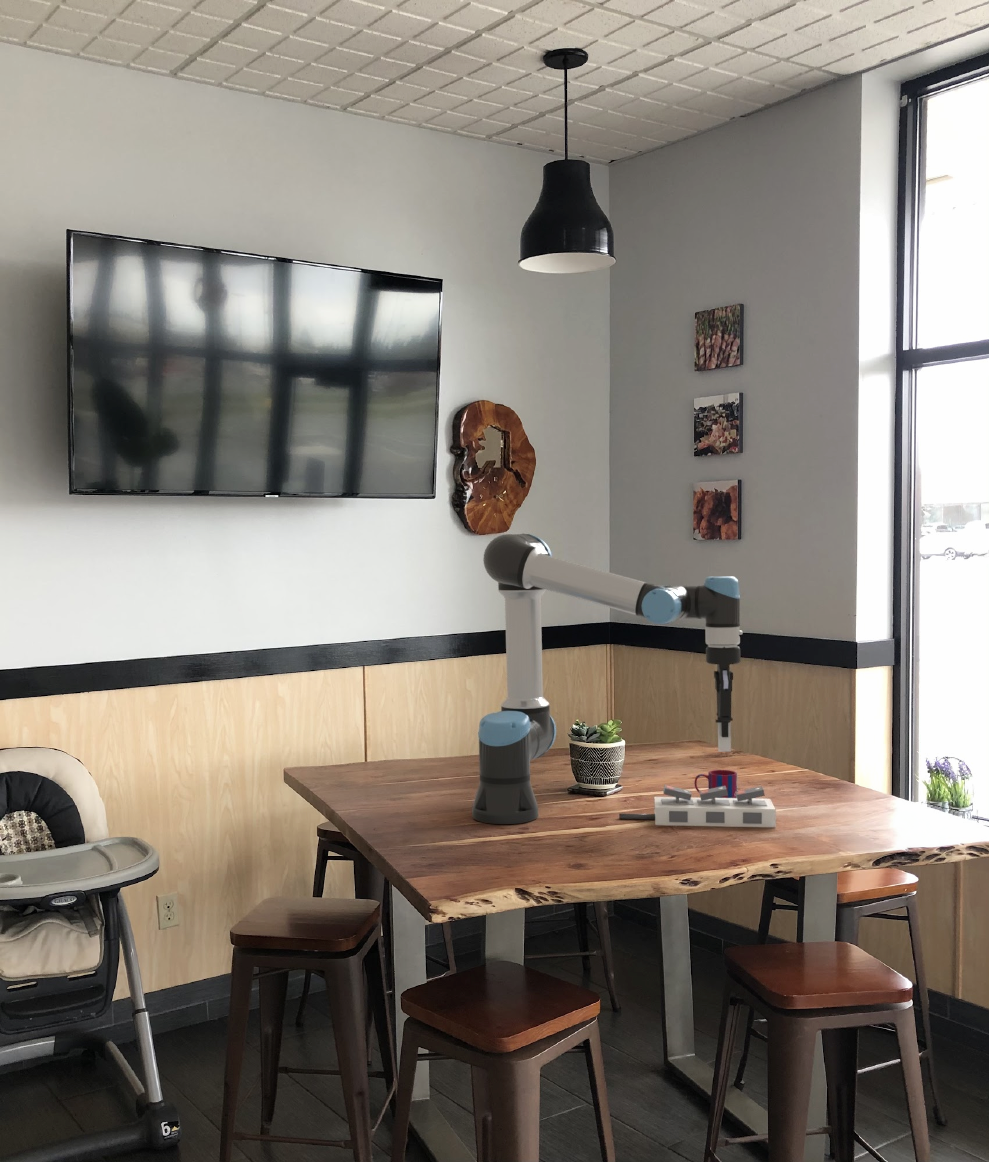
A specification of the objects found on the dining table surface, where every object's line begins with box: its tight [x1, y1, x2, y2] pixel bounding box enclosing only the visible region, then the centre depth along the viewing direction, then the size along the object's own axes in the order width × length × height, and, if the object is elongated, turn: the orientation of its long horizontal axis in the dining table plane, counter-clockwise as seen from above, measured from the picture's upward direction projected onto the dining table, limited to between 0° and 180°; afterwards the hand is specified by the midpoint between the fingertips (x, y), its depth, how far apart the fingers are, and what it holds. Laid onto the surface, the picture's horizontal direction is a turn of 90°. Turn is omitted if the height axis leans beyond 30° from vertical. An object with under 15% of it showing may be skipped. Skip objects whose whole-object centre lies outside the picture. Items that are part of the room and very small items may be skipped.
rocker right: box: [735, 786, 766, 801], centre depth 251 cm, size 6×4×2 cm, turn 83°
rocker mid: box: [698, 786, 728, 801], centre depth 252 cm, size 6×4×2 cm, turn 83°
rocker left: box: [662, 784, 692, 800], centre depth 253 cm, size 6×4×1 cm, turn 83°
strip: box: [618, 796, 777, 828], centre depth 252 cm, size 34×10×5 cm, turn 83°
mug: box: [694, 769, 738, 798], centre depth 271 cm, size 7×10×7 cm
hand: (724, 750), depth 251 cm, fingers closed
